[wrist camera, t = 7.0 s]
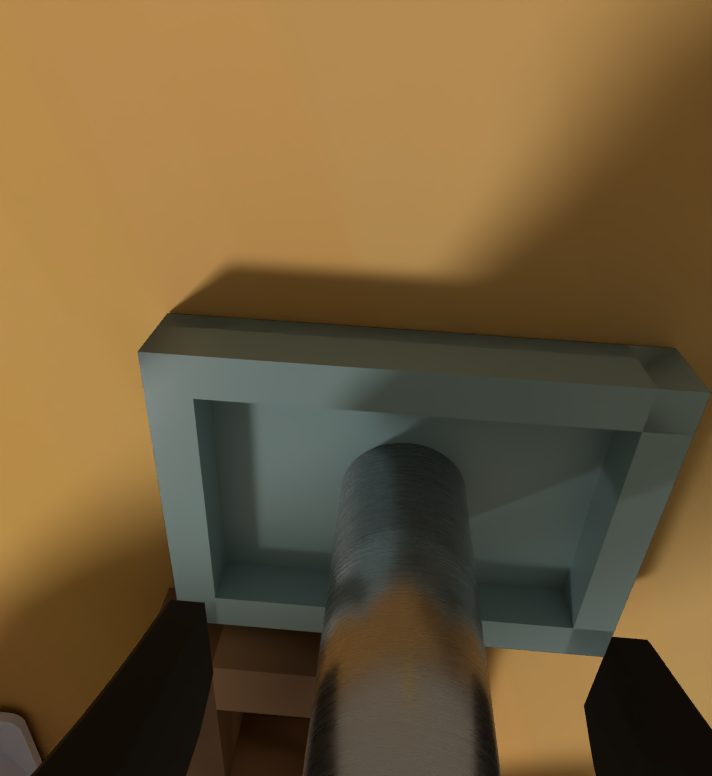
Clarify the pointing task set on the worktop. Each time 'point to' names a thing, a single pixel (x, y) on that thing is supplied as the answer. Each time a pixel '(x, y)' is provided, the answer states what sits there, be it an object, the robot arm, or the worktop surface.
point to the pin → (402, 628)
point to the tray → (424, 427)
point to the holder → (256, 701)
